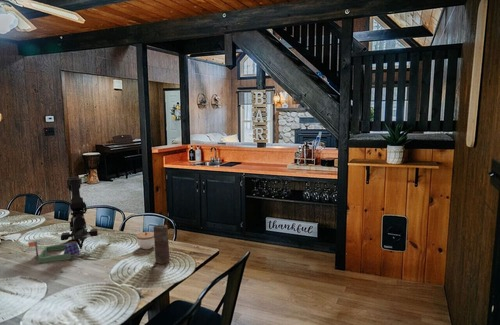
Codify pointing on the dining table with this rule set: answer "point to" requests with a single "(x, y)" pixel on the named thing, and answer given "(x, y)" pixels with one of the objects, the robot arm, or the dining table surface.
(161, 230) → the candle
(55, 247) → the frame
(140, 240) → the lidded jar
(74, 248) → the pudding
